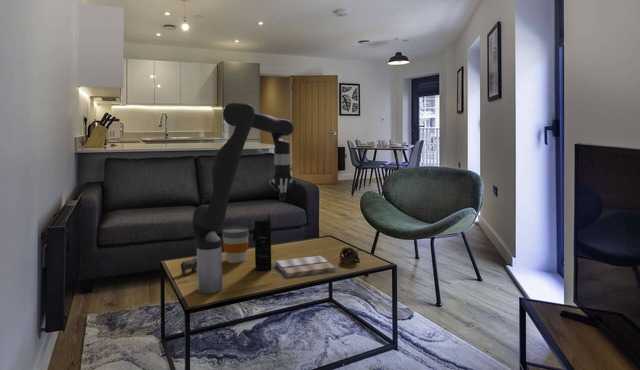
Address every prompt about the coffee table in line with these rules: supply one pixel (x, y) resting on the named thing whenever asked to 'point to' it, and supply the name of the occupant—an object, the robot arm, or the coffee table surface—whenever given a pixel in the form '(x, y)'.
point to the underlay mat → (299, 276)
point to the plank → (300, 262)
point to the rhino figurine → (189, 265)
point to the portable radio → (262, 244)
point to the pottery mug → (348, 255)
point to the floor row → (308, 269)
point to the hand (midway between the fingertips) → (282, 200)
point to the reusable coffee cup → (235, 243)
